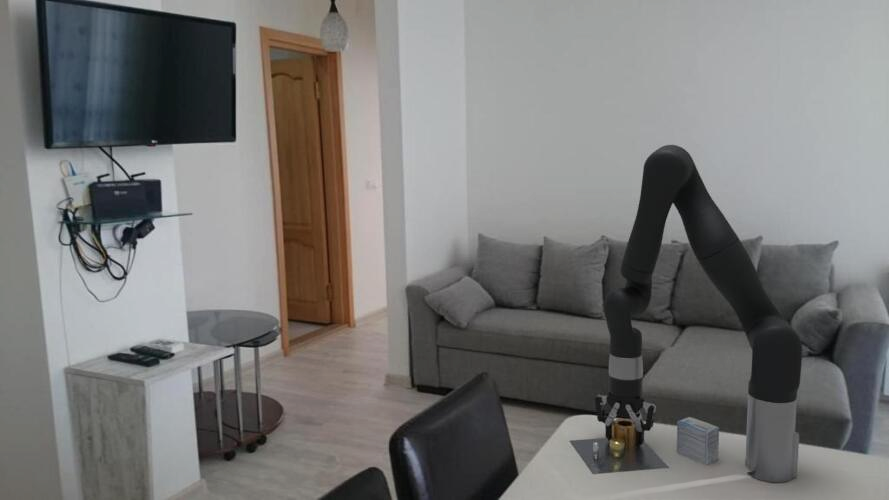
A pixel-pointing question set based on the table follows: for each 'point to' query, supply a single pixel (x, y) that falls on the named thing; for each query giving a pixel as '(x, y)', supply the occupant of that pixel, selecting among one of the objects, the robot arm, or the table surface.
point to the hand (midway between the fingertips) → (624, 442)
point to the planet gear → (625, 432)
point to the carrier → (616, 456)
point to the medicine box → (698, 440)
